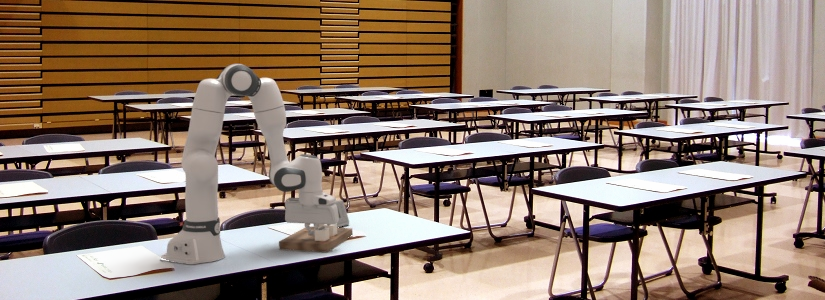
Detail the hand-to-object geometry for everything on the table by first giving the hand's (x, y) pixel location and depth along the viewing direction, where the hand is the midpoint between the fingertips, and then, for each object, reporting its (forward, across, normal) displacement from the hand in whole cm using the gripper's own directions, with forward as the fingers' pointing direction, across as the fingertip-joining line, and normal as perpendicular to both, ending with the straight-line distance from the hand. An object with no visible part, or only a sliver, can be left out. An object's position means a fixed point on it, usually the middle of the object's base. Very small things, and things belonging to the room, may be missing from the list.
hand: (312, 235), depth 311 cm
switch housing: (+5, -2, +8) cm, 9 cm away
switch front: (+1, +4, 0) cm, 4 cm away
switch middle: (+1, +4, +8) cm, 9 cm away
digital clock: (+5, -5, +33) cm, 33 cm away
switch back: (+1, -2, +16) cm, 16 cm away
